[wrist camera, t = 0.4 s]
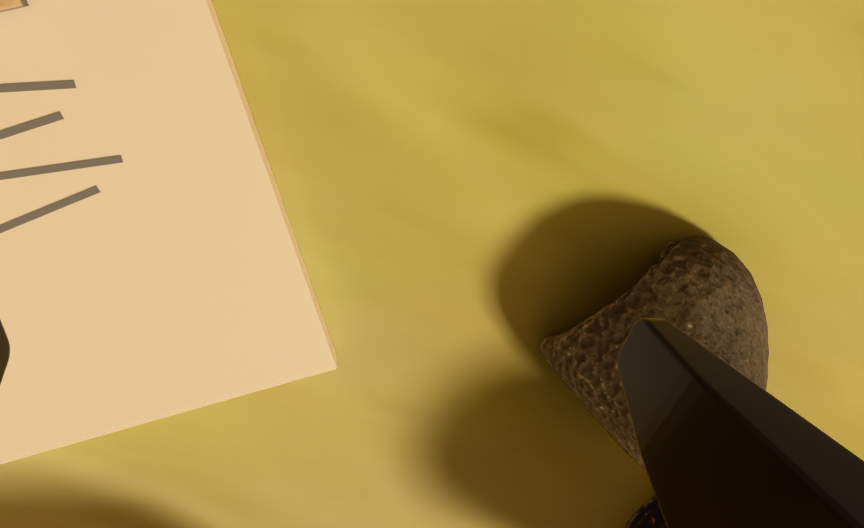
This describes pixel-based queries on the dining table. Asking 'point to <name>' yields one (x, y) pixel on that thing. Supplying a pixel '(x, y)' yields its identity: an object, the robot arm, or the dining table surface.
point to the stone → (680, 305)
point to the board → (137, 226)
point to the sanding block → (12, 4)
